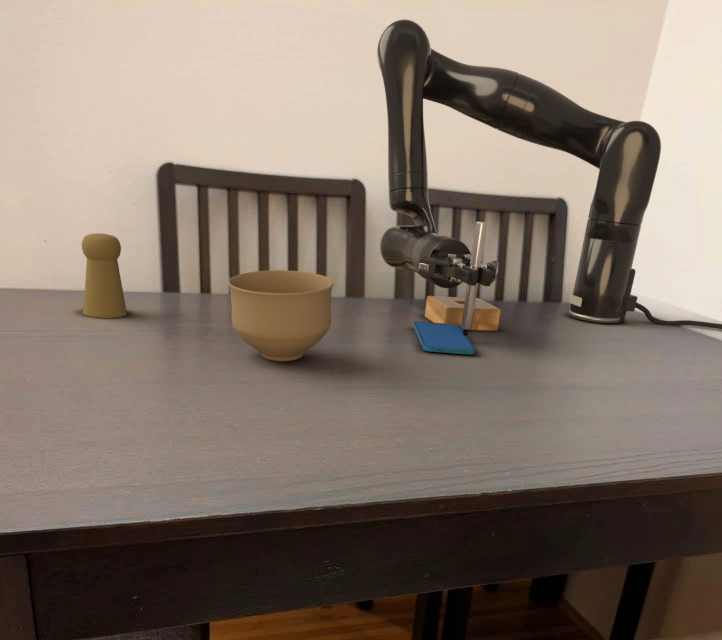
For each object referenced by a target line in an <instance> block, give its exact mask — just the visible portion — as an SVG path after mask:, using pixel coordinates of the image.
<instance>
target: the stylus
mask: <svg viewBox="0 0 722 640" xmlns="http://www.w3.org/2000/svg"><path fill="white" fill-rule="evenodd" d="M487 229H488V223H487V222H485V221H476V222H475V227H474V232H473V239H472V245H471V252H470V253H471V260H470V267H472V268H474V269H477V270H478V276H477V283H476V285H475V286H471V285H468V284H466V288H465V296H464V298H465V302H464V308H463V315H462V322H461V328H462V329H464V330H463V335H464V336H467V337H468V334H469V331H472V330H471V329H472V322H473V316H474V309H475V302H476V298H477V295H478V288H479V283H478V282H479V276H480V269H481V263H483V262H482V261H483V255H484V248H485V241H486V235H487Z"/></svg>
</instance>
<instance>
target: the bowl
mask: <svg viewBox="0 0 722 640" xmlns="http://www.w3.org/2000/svg"><path fill="white" fill-rule="evenodd" d="M227 284H228V287H229V291H230V301H231V323H232V327H233V329H234V331H235V332H236V333H237V334H238V336H239V337H240V338H241V340H243V341H244V342H245V343H246V344H247V345H249V346H250V347H251V348H253V349H254V350H255V351H257V352H258V353H260V355H261V357H263V358H264V359H266V360H269V361H272V362H273V361H274V362H281V363H283V362H292V361H296V360H298V359H301V358H302V357H303V356H304V354H305V353H306V352H308V350H310V349H311V348H313V347H314V346H315V345H317V344H318V343H319V342H320V341H321V340H322V339H323V338H324V337H325V335H326V334H327V333H328V331H329V330H330V329H331V328H330V327H331V324H332V291H333V288H334V281H333V280H332V279H331V278H329V277H328V276H325V275H322V274H319V273H314V272H307V271H300V270H287V269H284V270H283V269H281V270H280V269H279V270H278V269H277V270H274V269H272V270H271V269H269V270H257V271H250V272H243V273H239V274H237V275H234V276H232V277H230V278H229V279H228V281H227Z"/></svg>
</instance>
